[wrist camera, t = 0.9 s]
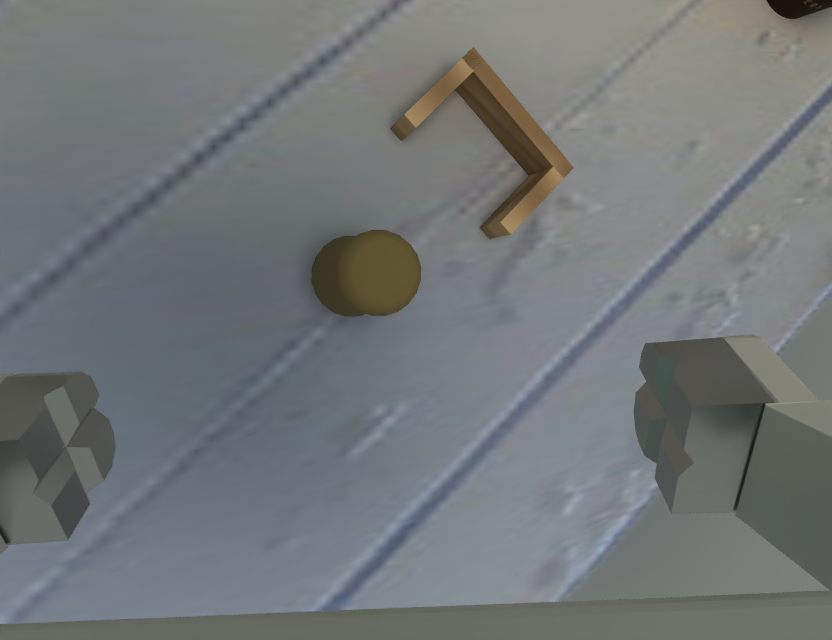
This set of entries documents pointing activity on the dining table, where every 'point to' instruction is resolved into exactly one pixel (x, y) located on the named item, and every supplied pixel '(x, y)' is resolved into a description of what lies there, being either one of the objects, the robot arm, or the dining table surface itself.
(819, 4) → the coffee mug
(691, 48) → the dining table surface
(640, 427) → the robot arm
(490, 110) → the catch
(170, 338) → the dining table surface
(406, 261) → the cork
